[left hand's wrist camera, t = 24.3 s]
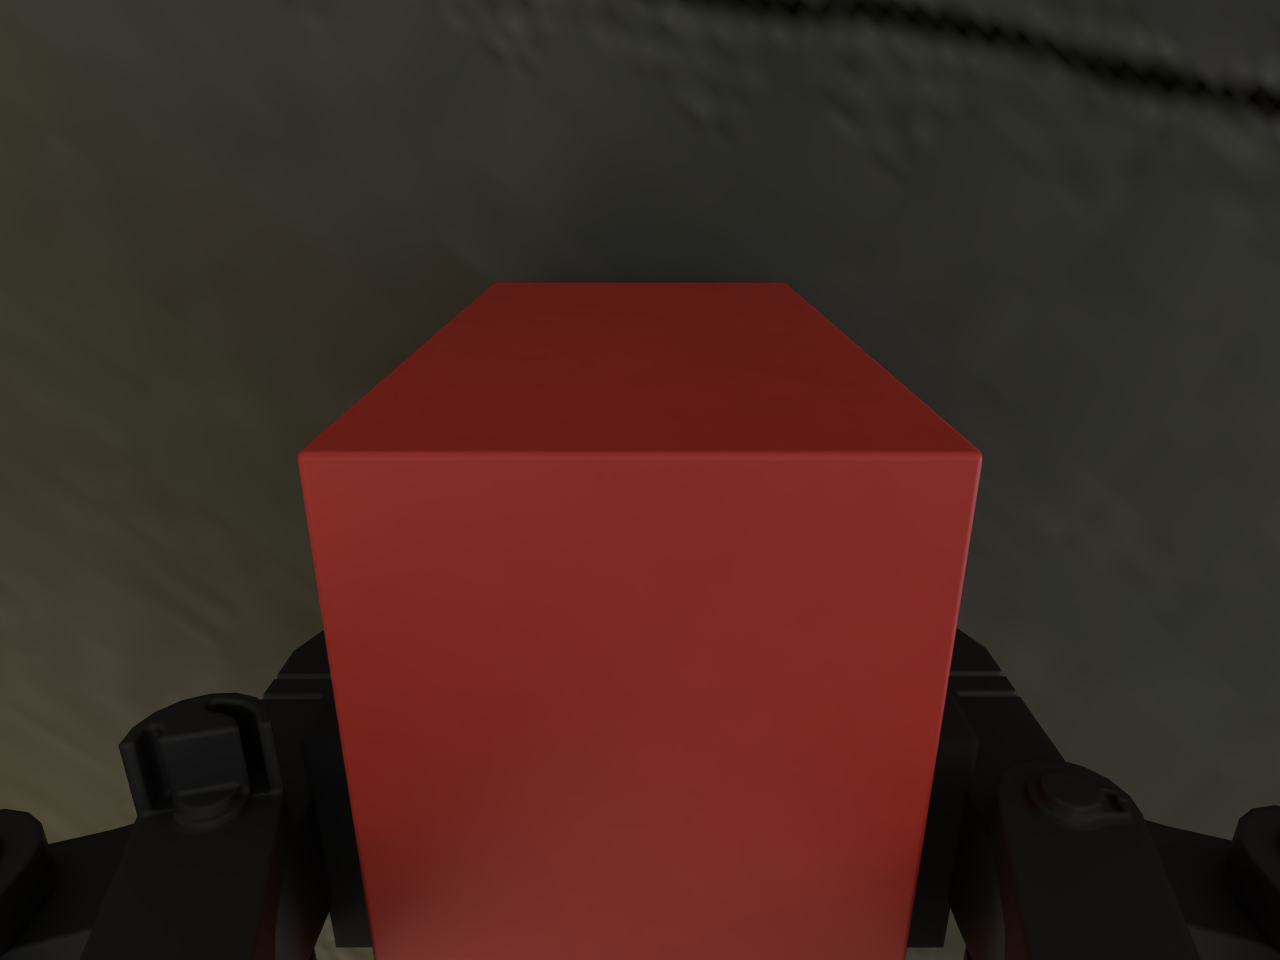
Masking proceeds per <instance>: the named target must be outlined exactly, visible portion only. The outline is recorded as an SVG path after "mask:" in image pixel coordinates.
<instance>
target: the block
mask: <svg viewBox="0 0 1280 960" xmlns="http://www.w3.org/2000/svg"><path fill="white" fill-rule="evenodd" d="M982 459H983V458H982V454H981V452H980V451H979V450H978V449H977V448H976V447H974V446H973V445H972V444H971V443H970V442H969V441H967V440H966V439H965V438H964V437H963V436H962V435H960V434H959V433H958V432H957V431H956V430H955V429H954V428H952V427H951V426H950V425H949V424H948V423H947V422H945V421H944V420H943V419H942V418H941V417H940V416H939V415H937V414H936V413H935V412H934V411H933V410H932V409H930V408H929V407H928V406H927V405H926V404H925V403H923V402H922V401H921V400H920V399H919V398H918V397H917V396H915V395H914V394H913V393H912V392H911V391H910V390H908V389H907V388H906V387H905V386H904V385H903V384H901V383H900V382H899V381H898V380H897V379H896V378H895V377H893V376H892V375H891V374H890V373H889V372H888V371H886V370H885V369H884V368H883V367H882V366H881V365H879V364H878V363H877V362H876V361H875V360H874V359H873V358H871V357H870V356H869V355H868V354H867V353H866V352H864V351H863V350H862V349H861V348H860V347H859V346H857V345H856V344H855V343H854V342H853V341H852V340H851V339H849V338H848V337H847V336H846V335H845V334H844V333H842V332H841V331H840V330H839V329H838V328H837V327H835V326H834V325H833V324H832V323H831V322H830V321H829V320H827V319H826V318H825V317H824V316H823V315H822V314H820V313H819V312H818V311H817V310H816V309H815V308H814V307H812V306H811V305H810V304H809V303H808V302H807V301H805V300H804V299H803V298H802V297H801V296H800V295H798V294H797V293H796V292H795V291H794V290H793V289H792V288H790V287H789V286H788V285H787V284H785V283H493V284H492V285H491V286H490V287H489V288H488V289H486V290H485V291H484V292H483V293H482V294H481V295H479V296H478V297H477V298H476V299H475V300H474V301H473V302H471V303H470V304H469V305H468V306H467V307H466V308H464V309H463V310H462V311H461V312H460V313H459V314H458V315H456V316H455V317H454V318H453V319H452V320H451V321H450V322H448V323H447V324H446V325H445V326H444V327H443V328H441V329H440V330H439V331H438V332H437V333H436V334H435V335H433V336H432V337H431V338H430V339H429V340H428V341H426V342H425V343H424V344H423V345H422V346H421V347H420V348H418V349H417V350H416V351H415V352H414V353H413V354H411V355H410V356H409V357H408V358H407V359H406V360H405V361H403V362H402V363H401V364H400V365H399V366H398V367H396V368H395V369H394V370H393V371H392V372H391V373H390V374H388V375H387V376H386V377H385V378H384V379H383V380H382V381H380V382H379V383H378V384H377V385H376V386H375V387H373V388H372V389H371V390H370V391H369V392H368V393H367V394H365V395H364V396H363V397H362V398H361V399H360V400H358V401H357V402H356V403H355V404H354V405H353V406H352V407H350V408H349V409H348V410H347V411H346V412H345V413H343V414H342V415H341V416H340V417H339V418H338V419H337V420H335V421H334V422H333V423H332V424H331V425H330V426H328V427H327V428H326V429H325V430H324V431H323V432H322V433H320V434H319V435H318V436H317V437H316V438H315V439H314V440H312V441H311V442H310V443H309V444H308V445H307V446H305V447H304V448H303V449H302V450H301V451H300V452H299V454H298V465H299V471H300V478H301V484H302V491H303V497H304V504H305V510H306V517H307V523H308V530H309V536H310V543H311V549H312V556H313V562H314V569H315V575H316V582H317V588H318V595H319V601H320V608H321V614H322V621H323V627H324V634H325V640H326V647H327V654H328V660H329V667H330V673H331V680H332V686H333V693H334V699H335V706H336V712H337V719H338V725H339V732H340V738H341V745H342V751H343V758H344V764H345V771H346V777H347V784H348V790H349V797H350V803H351V810H352V816H353V823H354V829H355V836H356V842H357V849H358V855H359V862H360V868H361V875H362V881H363V888H364V894H365V901H366V907H367V914H368V920H369V927H370V934H371V940H372V947H373V953H374V960H905V956H906V949H907V943H908V936H909V930H910V924H911V917H912V911H913V904H914V898H915V891H916V885H917V878H918V872H919V866H920V859H921V853H922V846H923V840H924V833H925V827H926V820H927V814H928V808H929V801H930V795H931V788H932V782H933V775H934V769H935V762H936V756H937V749H938V743H939V737H940V730H941V724H942V717H943V711H944V704H945V698H946V691H947V685H948V679H949V672H950V666H951V659H952V653H953V646H954V640H955V633H956V627H957V621H958V614H959V608H960V601H961V595H962V588H963V582H964V575H965V569H966V563H967V556H968V550H969V543H970V537H971V530H972V524H973V517H974V511H975V504H976V498H977V492H978V485H979V479H980V472H981V466H982Z"/></svg>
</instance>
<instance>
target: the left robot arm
mask: <svg viewBox="0 0 1280 960" xmlns="http://www.w3.org/2000/svg"><path fill="white" fill-rule="evenodd" d="M119 749H120V753H121V757H122V760H123V764H124V768H125V771H126V775H127V779H128V783H129V786H130V790H131V794H132V797H133V801H134V805H135V809H136V812H137V818H136V821H135V823H134V824H131V825H127V826H124V827H121V828H117V829H114V830H110V831H105V832H101V833H96V834H92V835H87V836H83V837H78V838H74V839H69V840H65V841H61V842H56V843H52V844H48V842H47V839H46V836H45V833H44V830H43V827H42V824H41V822H39V821H38V820H37V819H36V818H35V817H33V816H32V815H31V814H30V813H29V812H22V811H15V810H9V809H2V810H0V960H316V954H315V949H314V947H315V944H316V942H317V940H318V937H319V935H320V932H321V930H322V927H323V925H324V923H325V920H326V918H327V915H328V913H329V910H330V915H331V921H332V926H333V932H334V938H335V943H336V947H372V940H371V934H370V927H369V920H368V914H367V907H366V901H365V894H364V888H363V881H362V875H361V868H360V862H359V855H358V849H357V842H356V836H355V829H354V823H353V816H352V810H351V803H350V797H349V790H348V784H347V777H346V771H345V764H344V758H343V751H342V745H341V738H340V732H339V725H338V719H337V712H336V706H335V699H334V693H333V686H332V680H331V673H330V667H329V660H328V654H327V647H326V640H325V634H324V630H323V631H322V632H320V633H319V634H317V635H316V636H315V637H313V638H312V639H310V640H309V641H307V642H306V643H305V644H303V645H302V646H300V647H299V648H297V649H296V650H295V651H294V652H293V653H292V655H291V656H290V657H289V659H288V660H287V662H286V663H285V665H284V666H283V667H282V669H281V670H280V672H279V673H278V677H277V679H274V680H273V682H272V683H271V685H270V686H269V687H268V689H267V690H266V692H265V693H264V698H263V700H259V699H258V698H256V697H252V696H248V695H244V694H240V693H217V694H207V695H203V696H199V697H195V698H190V699H186V700H182V701H180V702H177V703H175V704H173V705H170V706H168V707H166V708H164V709H161V710H159V711H157V712H155V713H153V714H152V715H150V716H149V717H147V718H146V719H144V720H143V721H142V722H140V723H139V724H137V725H136V726H134V727H133V728H132V729H131V730H130V732H129V733H128V734H127V735H126V737H125V738H124V739H123V740H122V742H121V743H120V744H119ZM950 908H951V910H952V913H953V915H954V917H955V920H956V922H957V925H958V927H959V930H960V932H961V934H962V937H963V939H964V942H965V944H966V949H965V954H964V960H1280V806H1276V805H1274V806H1267V807H1260V808H1253V809H1251V810H1250V811H1249V812H1247V813H1246V814H1245V815H1244V816H1242V817H1241V818H1240V819H1239V821H1238V824H1237V827H1236V830H1235V834H1234V837H1233V840H1232V841H1231V840H1227V839H1222V838H1218V837H1213V836H1209V835H1204V834H1200V833H1195V832H1191V831H1186V830H1182V829H1177V828H1173V827H1168V826H1165V825H1161V824H1158V823H1154V822H1151V821H1147V820H1145V819H1144V817H1143V815H1142V813H1141V812H1140V810H1139V809H1138V807H1137V806H1136V804H1135V803H1134V801H1133V800H1132V798H1131V797H1130V796H1129V795H1128V794H1127V793H1125V792H1124V791H1123V790H1122V789H1120V788H1119V787H1118V786H1117V785H1115V784H1114V783H1113V782H1112V781H1110V780H1109V779H1107V778H1105V777H1103V776H1101V775H1099V774H1097V773H1095V772H1093V771H1091V770H1089V769H1087V768H1085V767H1083V766H1079V765H1076V764H1072V763H1068V762H1066V761H1065V760H1064V759H1063V757H1062V756H1061V754H1060V753H1059V752H1058V750H1057V749H1056V747H1055V746H1054V744H1053V743H1052V742H1051V740H1050V739H1049V737H1048V736H1047V735H1046V733H1045V732H1044V730H1043V729H1042V727H1041V726H1040V725H1039V723H1038V722H1037V720H1036V719H1035V717H1034V716H1033V715H1032V713H1031V712H1030V710H1029V709H1028V708H1027V706H1026V705H1025V703H1024V702H1023V700H1022V699H1021V698H1020V697H1017V696H1016V690H1015V689H1014V688H1013V686H1012V685H1011V683H1010V682H1009V681H1008V679H1007V678H1006V677H1003V675H1002V671H1001V669H1000V668H999V666H998V665H997V664H996V662H995V661H994V659H993V658H992V656H991V655H990V654H989V652H988V651H987V649H986V648H985V647H983V646H982V645H981V644H979V643H978V642H976V641H975V640H973V639H972V638H970V637H969V636H968V635H966V634H965V633H963V632H962V631H960V630H959V629H957V628H956V633H955V640H954V646H953V653H952V659H951V666H950V672H949V679H948V685H947V691H946V698H945V704H944V711H943V717H942V724H941V730H940V737H939V743H938V749H937V756H936V762H935V769H934V775H933V782H932V788H931V795H930V801H929V808H928V814H927V820H926V827H925V833H924V840H923V846H922V853H921V859H920V866H919V872H918V878H917V885H916V891H915V898H914V904H913V911H912V917H911V924H910V930H909V936H908V943H907V947H943V946H944V940H945V934H946V929H947V923H948V917H949V911H950Z"/></svg>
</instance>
